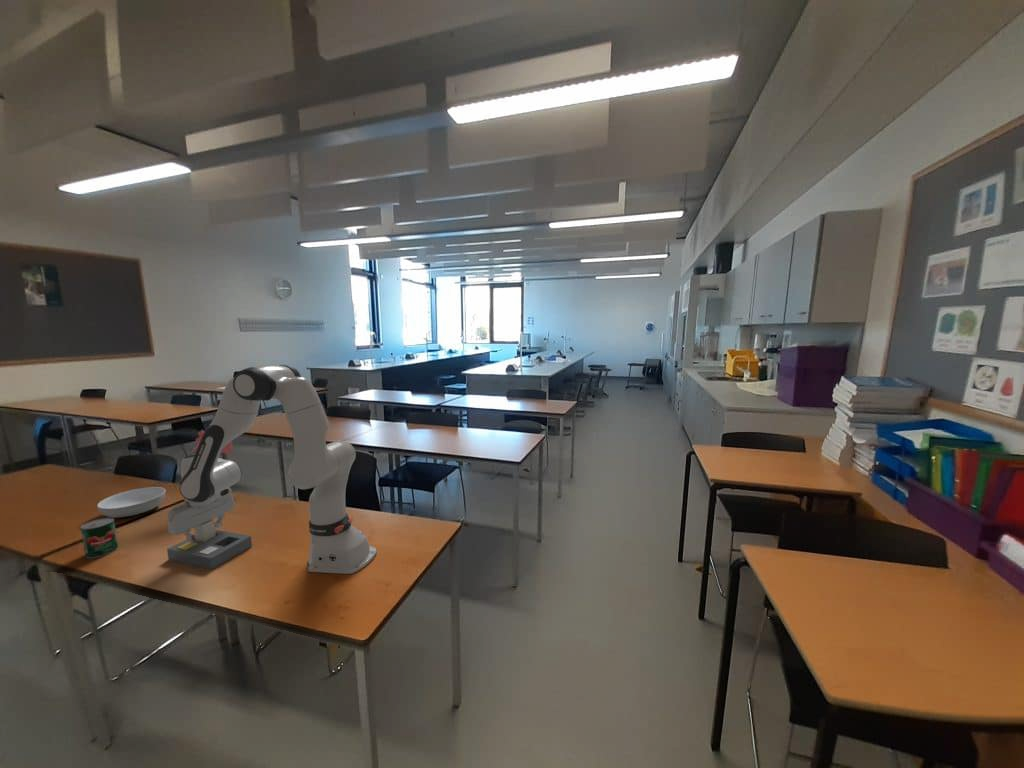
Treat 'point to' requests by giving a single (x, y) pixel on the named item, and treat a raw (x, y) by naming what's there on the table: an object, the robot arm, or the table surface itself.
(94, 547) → the canned tomato
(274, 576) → the table surface
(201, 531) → the plug
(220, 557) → the socket block
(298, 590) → the table surface
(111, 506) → the serving bowl
